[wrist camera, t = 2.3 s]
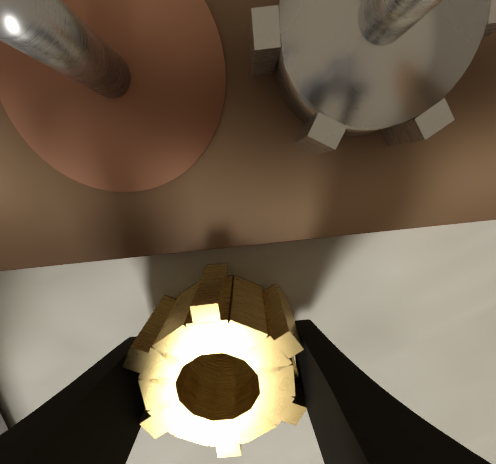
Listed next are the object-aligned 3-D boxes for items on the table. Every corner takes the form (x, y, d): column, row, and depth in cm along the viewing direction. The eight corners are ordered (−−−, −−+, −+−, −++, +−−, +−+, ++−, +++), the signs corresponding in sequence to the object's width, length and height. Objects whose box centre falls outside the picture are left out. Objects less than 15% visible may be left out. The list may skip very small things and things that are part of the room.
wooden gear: (292, 375, 11) (309, 449, 8) (175, 386, 11) (150, 463, 8) (283, 257, 9) (301, 295, 7) (149, 271, 10) (107, 314, 7)
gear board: (467, 213, 9) (502, 219, 8) (-133, 275, 9) (-191, 291, 8) (518, -182, 6) (585, -269, 5) (-327, -77, 7) (-460, -135, 5)
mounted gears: (447, 140, 7) (606, 115, 4) (-172, 207, 8) (-479, 232, 4) (470, -90, 6) (734, -396, 3) (-285, 1, 6) (-855, -183, 3)
